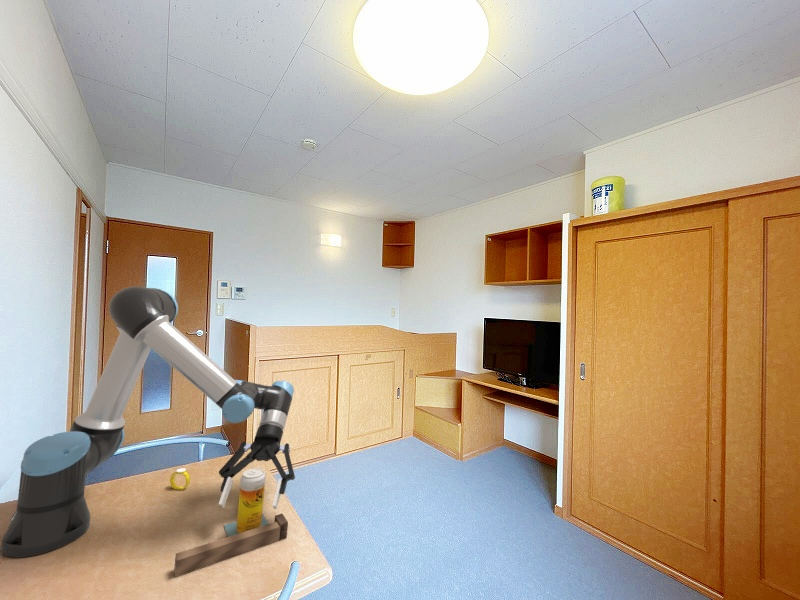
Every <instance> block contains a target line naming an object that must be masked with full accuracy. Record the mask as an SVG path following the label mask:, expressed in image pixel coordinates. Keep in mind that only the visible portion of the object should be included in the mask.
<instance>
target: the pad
mask: <svg viewBox="0 0 800 600" xmlns="http://www.w3.org/2000/svg"><path fill="white" fill-rule="evenodd" d="M268 524H269V523H268V521H267V519H266V518H265V516H264V514H263V513H262V521H261V526H265V525H268ZM236 527H237V520H236V521H233V522H231V523H226V524H224V525H223V528H224V531H225V533H226V536H227V537H230V536H233V535H236V534H239V533H238V532H237V530H236Z"/></svg>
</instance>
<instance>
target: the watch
mask: <svg viewBox="0 0 800 600" xmlns="http://www.w3.org/2000/svg"><path fill="white" fill-rule="evenodd" d="M176 475H183V476H184V478H185V485H184V486H180V485H179V486H178V485H177V484H176V481H175V476H176ZM169 482H170V486H171V487H172V488H173V489H174V490H180V491H183V490H185V489H186V488H187V487H188V486H189V485H190V483H191V476H190V474H189V473H188V472H187V468H185V467H180V468H178V469H176V470H175V471H174V472H173V473H172V474H171V475H170V478H169Z"/></svg>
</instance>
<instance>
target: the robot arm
mask: <svg viewBox="0 0 800 600" xmlns="http://www.w3.org/2000/svg"><path fill="white" fill-rule="evenodd" d="M108 311H109V312H108V313H109V315H110V318H111V319H112V321H113V322H114V324H116V329H117V330H118V332H119V335H118V337H117V339H116V342H115V344H114V346H113V348H112V350H111V353H110V355H109V358H108V360H107V362H106V365H105V367H104V369H103V371H102V374H101V376H100V377H99V381H98V383H97V384H96V387H95V390H94V392H93V394H92V396H91V399H90V401H89V403H88V406H87V408H86V410H85V412H82V413H81V414H79V415H76V416H75V418H74V420H73V422H72V424H71V427H70V429H69V431H63V432H59V433H54V434H52V435H48V436H45V437H42V438H40V439H37V440H36V441H33V443H31V444H30V445H29V446H27V448H26V449H25V451H24V453H23V457H22V460H21V462H20V463H21V464H20V476H19V487H18V496H17V506H16V511H15V514H14V516H13V518H12V520H11V522H10V523H9V525H8V528H7V530H6V531H5V533H4V535H3V536H2V540H1V545H0V553H1V554H2V556H5V557H7V558H27V557H33V556H34V557H35V556H38V555H42V554H45V553H48V552H51V551H55V550H56V549H60V548H62V547H64V546H67V545H69V544H70V543H73V542H74V541H75V540H77V539H79V538H80V537H82V536H83V535H84V534H85V533H86V532H87V531H88V529H89V528H90V525H91V512H90V510H89V506H88V504H87V501H86V499H85V489H86V481H87V475H88V474H89V473H91V472H92V471H93V470H95V469H96V468H97V467H99V466H100V465H102V464H103V463H104V462H106V461H108V460H109V459H111V458H112V457H113V456H114V455H115V454H116V453H117V452H118V450H119V449H120V448H121V446H122V445H123V442H124V440H125V430H124V428H125V425H126V420H125V418H124V417H123V415H124V413H125V410H126V408H127V406H128V403H129V400H130V398H131V396H132V394H133V392H134V389H135V386H136V385H137V382H138V380H139V378H140V375H141V373H142V371H143V368H144V365H145V363H146V361H147V358H148V356H149V354H150V352H151V350H152V351H153V352H154V353H156V354H157V355H158V356H159V357H161V358H162V359H163V360H164V361H165V362H166V363H167V364H169V365H170V366H171V367H172V368H173V369H174V370H176V372H178V373H179V374H180V375H182V376H183V377H184V378H185V379H186V380H187V381H188V382H190V383H191V384H192V385H193V386H194V387H195V388H197V389H198V390H199V391H200V392H202V393H203V394H204V395H205V396H206V397H207V398H209V400H211V402H213V403H214V404H216V405H217V406H218V407H219V408H220V409H221V412H222V416H223V418H224V419H225V420H226V421H228V422H229V423H232V424H238V423H239V424H240V423H243V422H244V421H246V420H247V419H248V418H249V417H250V416H251V415H252V414H253V412H254V410H255V409H256V410H263V412H262V415H261V418H260V421H259V425H258V428H257V431H256V432H255V437H254V440H253V442H252V443H247V442H246V441H242V442H241V444H240V445H239V448H238V449H237V450H236V451H235V452H234V453H233V455H232V456H231V457H230V458H229V459H228V461H227V462H225V464H224V465H223V466H222V467H221V468H220V469H219V471H218V474H219V475H220V477H221V478H223V480H222V483H221V485H220V487H219V489H220V492H221V495H220V499H219V502H218V505H219V507H220V508H225V506H226V502H227V499H228V497H229V494H230V492H231V488H232V486H233V483H234V480H233V478H234V477H235V476H236V475H238V474H239V473H241V471H243V469H245V468H246V467H247V466H248V465H250V464H251V463H253V462H254V461H256V462H262V461H264V462H268V461H272V464H273V465H274V466H275V468H276V469H277V472H278V473H279V475H280V477H281V478H278V481H277V487H276V490H275V492H274V498H273V502H272V508H273V509H274V510H277V509H278V506H279V502H280V497H281V495H284V494H285V492H286V489H287V485H288V484H287V483H288V482H289V481H294V480H295V479H296V476H295V473H294V468H293V464H292V461H291V460H292V459H291V456H290V453H291V452H290V451H291V447H290V444H289V443H284V444H281V442H282V437H283V434H284V429H285V427H286V422H287V419H288V415H289V411H290V409H291V404H292V400H293V396H294V390H295V389H294V386H293V384H292V383H291V382H289V381H286V380H276V381H274V382H272V384H271V385H266V384H265V385H264V384H260V383H256V382H251V381H247V380H239V379H234V378H233V377H232V376H231V375H229V374H228V373H227V372H226V371H225V370H224V369H223V368H222V367H220V366H219V364H217V362H215V361H213V360H212V358H211V357H209V356H208V355H207V354H205V352H204V351H202V350H201V349H200V348H199V346H197V345H196V344H195V343H193V341H191V340H190V339H189V338H188V337H187V336H185V334H184V333H182V332H181V331H180V330H179V329H178V328H177V327H175V326H174V325H173V324H172V322H173V321H174V320H175V319H176V318H177V315H178V313H179V305H178V302H177V300H176V298H175V297H174V296H173V295H172V294H171V293H169V292H167V291H165V290H162V289H160V288H159V289H158V288H156V287H155V288H153V287H144V286H129V287H125V288H123V289H121V290H119V291H117V292H116V293H115V294H114V295H113V296H112V297H111V299H110V302H109V304H108ZM248 450H251V451H249V453H247V454H246V456H245V457H243V456H244V454H245V453H246V452H248ZM280 451H281V452H282V454H284V458H285V463H286V466H287V467H286V468H287V471H288V473H286V472H285V470H284V468H283V466H282V465H281V463H280V461H279V459H278V458H277V454H278V453H280ZM240 459H241V460H240Z"/></svg>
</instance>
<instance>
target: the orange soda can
mask: <svg viewBox="0 0 800 600" xmlns="http://www.w3.org/2000/svg"><path fill="white" fill-rule="evenodd" d="M265 485H266V473H265V470H264V469H263V468H258V467H256V468H255V467H253V468H250V469H246V470H244V471H243V472H242V475H241V477H240V484H239V496H238V497H239V498H238V505H237V518H236V519H237V520H236V521H237V527H236V530H237V532H238V533H242V532H246V531H249V530H252V529H255V528H258V527H261V521H262V514H263V508H264V496H265V487H266V486H265Z"/></svg>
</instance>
